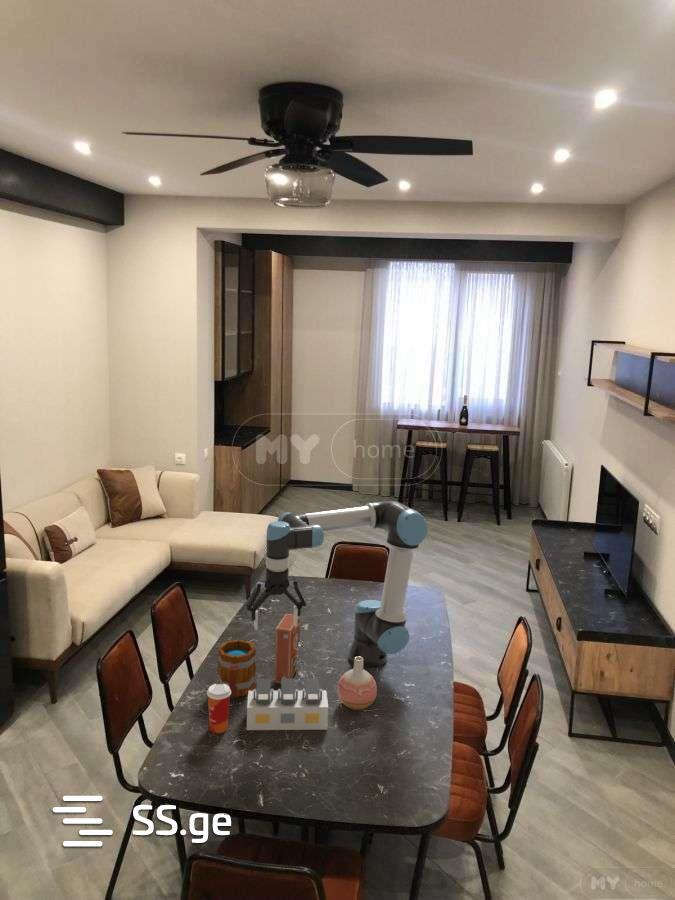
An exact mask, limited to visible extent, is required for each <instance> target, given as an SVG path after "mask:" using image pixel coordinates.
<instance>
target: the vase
mask: <svg viewBox="0 0 675 900" xmlns="http://www.w3.org/2000/svg"><path fill="white" fill-rule="evenodd" d="M377 694H378V687H377V682H376V680H375V678H374V677H373V675H372V674H370V672H368V671H367V670H366V669H364V667H363V658H362V657H359V656H358V657H355V659H354V663H353V668H351V669H349V670H348V671H345V673H343V675H341V677H340V679H339V680H338V683H337V696H338V698H339V701H341V703H342V704H343V705H344V706H346V707H347V708H348V709H350V710H353V711H362V710H364V709H366V708H368V707H370V706H371V705H372V704H373V703H374V701H375V700H376V698H377Z"/></svg>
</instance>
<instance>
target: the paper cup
mask: <svg viewBox="0 0 675 900" xmlns="http://www.w3.org/2000/svg"><path fill="white" fill-rule="evenodd" d="M206 695H207V702H208V704H207V705H208V706H207V707H208V719H209V721H208V722H209V730H210V732H211V733H213V734H223V733H226V731H227V730H228V725H229V714H230V713H229V712H230V701H231V697H230V695H231V690H230V687H229V686H228V685H226V684H218V683H214V684H212V685H210V686H209V687H208V689H207V691H206Z"/></svg>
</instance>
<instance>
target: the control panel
mask: <svg viewBox="0 0 675 900" xmlns="http://www.w3.org/2000/svg"><path fill="white" fill-rule="evenodd" d="M293 617H294V614H291V613H290V614H289V613H285V614H284V616H283V617H282V619H281V620H280V622H279V623H278V625H277V626H276V628H275V629H274V652H273V653H274V654H275V660H274V661H275V665H274V666H275V667H274V668H275V669H274V683H276V684H281V679H294V678H293V677H294V676H295V673H296V671H298V668H299V650H300V649H299V645H300V643H299V642H300V637H301V626H300V617H301V615H300V616H299V617H297V627H295V626H294V624H293Z"/></svg>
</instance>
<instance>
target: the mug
mask: <svg viewBox="0 0 675 900" xmlns="http://www.w3.org/2000/svg"><path fill="white" fill-rule="evenodd" d="M217 653H218V659H217V661H218V662H217V673H218V674H217V675H218V677H217V678H218V680H217V684H226V685H228V686H229V687H230V690H231V695H230V698H237V697H243V696H248V691H254V689H256V682H255V680H256V677H255V676H256V669H257V665H256V653H257V648H256V647H255V645H254V644H253V642H252V641H248V640H243V639H240V638H238V639H232V640H225V641H224V642H223V643H221V644H220V645H219V646H218V647H217Z"/></svg>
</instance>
